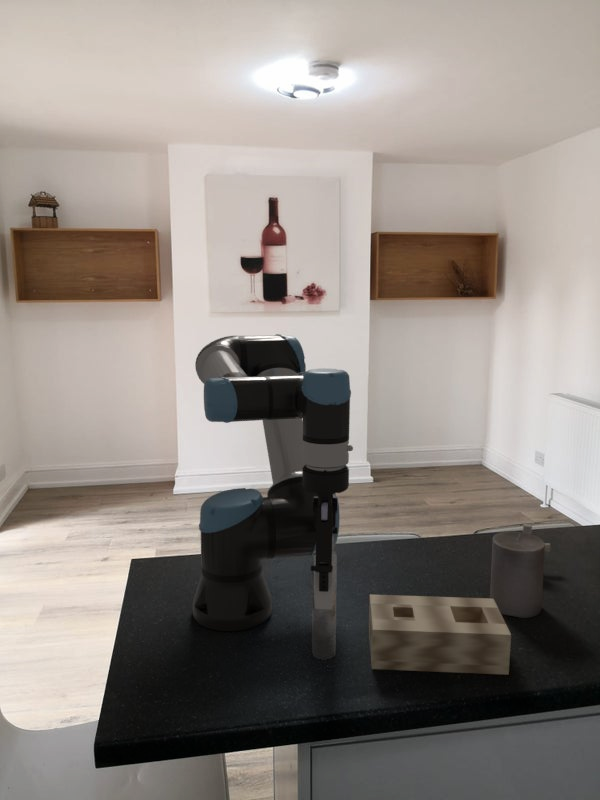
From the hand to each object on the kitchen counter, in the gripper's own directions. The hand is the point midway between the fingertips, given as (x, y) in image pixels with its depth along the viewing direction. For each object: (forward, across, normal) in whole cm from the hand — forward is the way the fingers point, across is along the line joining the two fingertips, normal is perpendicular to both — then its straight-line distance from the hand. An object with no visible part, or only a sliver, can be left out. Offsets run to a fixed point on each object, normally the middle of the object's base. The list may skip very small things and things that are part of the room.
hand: (324, 588), depth 105 cm
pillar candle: (+12, +19, -37) cm, 43 cm away
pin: (+12, 0, 0) cm, 12 cm away
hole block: (+12, +2, -19) cm, 23 cm away
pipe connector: (+12, +37, -44) cm, 59 cm away
